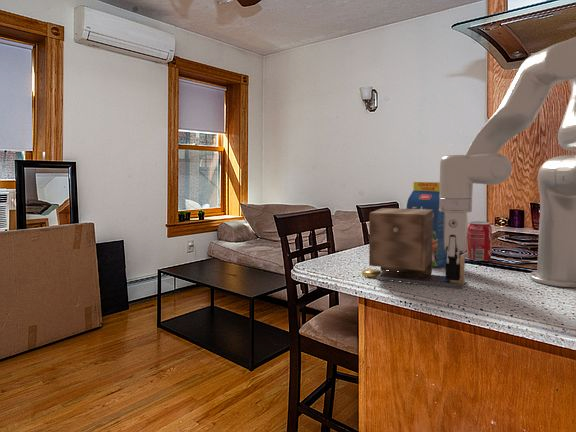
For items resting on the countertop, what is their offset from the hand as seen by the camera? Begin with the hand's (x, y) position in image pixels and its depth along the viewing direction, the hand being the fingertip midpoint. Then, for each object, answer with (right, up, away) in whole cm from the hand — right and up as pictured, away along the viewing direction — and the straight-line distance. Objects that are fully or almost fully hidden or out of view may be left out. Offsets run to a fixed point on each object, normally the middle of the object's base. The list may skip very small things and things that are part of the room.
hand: (453, 277), depth 102 cm
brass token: (-19, -1, +10) cm, 21 cm away
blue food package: (+1, +1, +23) cm, 23 cm away
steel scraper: (-7, -2, +4) cm, 8 cm away
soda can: (+18, +1, +25) cm, 31 cm away
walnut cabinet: (-11, -1, +8) cm, 13 cm away
